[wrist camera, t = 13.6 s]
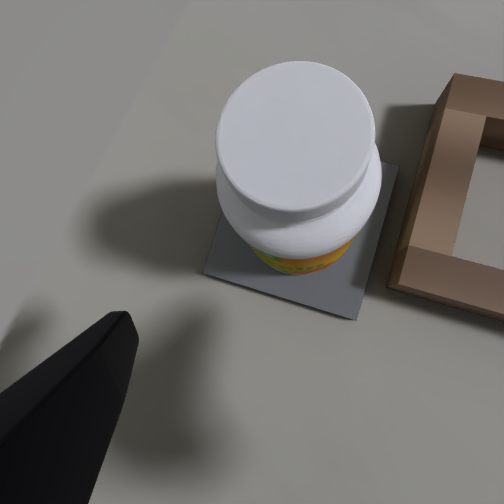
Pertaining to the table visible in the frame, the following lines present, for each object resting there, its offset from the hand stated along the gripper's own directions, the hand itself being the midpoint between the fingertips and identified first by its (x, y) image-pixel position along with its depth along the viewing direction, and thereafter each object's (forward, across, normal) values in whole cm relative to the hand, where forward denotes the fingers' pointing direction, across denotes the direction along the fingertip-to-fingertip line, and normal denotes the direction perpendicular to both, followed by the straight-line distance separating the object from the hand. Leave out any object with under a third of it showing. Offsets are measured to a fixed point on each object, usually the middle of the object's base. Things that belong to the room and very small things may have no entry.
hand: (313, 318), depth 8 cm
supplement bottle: (+10, 0, +3) cm, 11 cm away
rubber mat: (+11, 0, +3) cm, 11 cm away
